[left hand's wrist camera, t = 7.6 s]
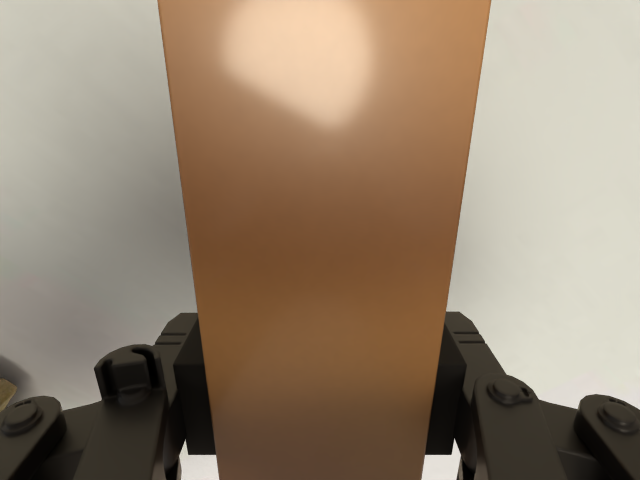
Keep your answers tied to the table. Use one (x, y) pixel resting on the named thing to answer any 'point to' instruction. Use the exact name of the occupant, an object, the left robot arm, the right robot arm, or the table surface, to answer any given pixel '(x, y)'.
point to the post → (322, 220)
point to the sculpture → (6, 392)
